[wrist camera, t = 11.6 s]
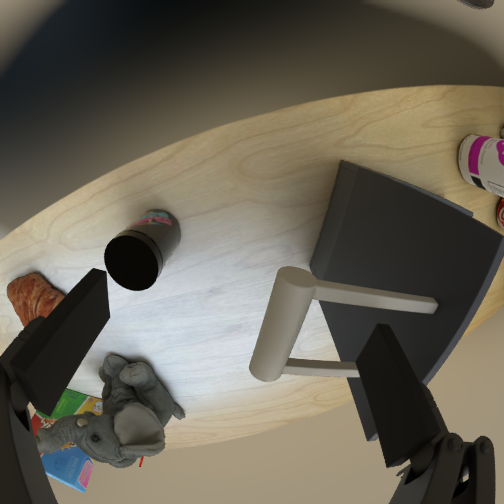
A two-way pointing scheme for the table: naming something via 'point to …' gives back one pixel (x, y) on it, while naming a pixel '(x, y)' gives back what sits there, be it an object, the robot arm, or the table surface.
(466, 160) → the supplement can
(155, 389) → the stuffed elephant
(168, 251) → the supplement container
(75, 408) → the game box
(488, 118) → the table surface
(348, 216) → the lid
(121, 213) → the table surface
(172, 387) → the table surface
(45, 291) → the pastry
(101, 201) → the table surface
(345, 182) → the compartment
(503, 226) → the soda can
